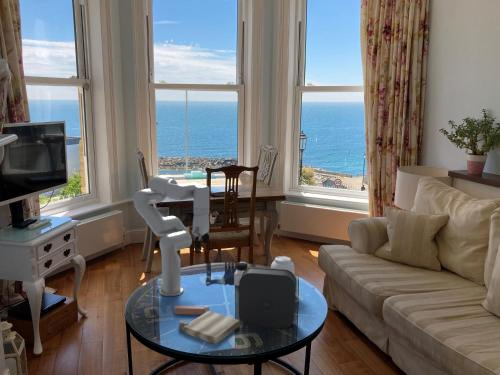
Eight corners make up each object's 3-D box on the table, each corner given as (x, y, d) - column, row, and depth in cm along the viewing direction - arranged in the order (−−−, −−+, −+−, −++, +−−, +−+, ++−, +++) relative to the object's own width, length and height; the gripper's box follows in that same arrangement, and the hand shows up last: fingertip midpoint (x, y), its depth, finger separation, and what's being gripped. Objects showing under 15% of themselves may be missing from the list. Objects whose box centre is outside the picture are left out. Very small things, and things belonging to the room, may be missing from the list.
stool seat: (177, 330, 191) (177, 323, 191) (202, 314, 207) (202, 307, 206) (215, 344, 181) (215, 336, 180) (239, 326, 196) (239, 319, 196)
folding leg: (209, 312, 208) (209, 305, 208) (209, 315, 206) (209, 308, 205) (175, 311, 209) (175, 304, 208) (174, 314, 206) (174, 307, 205)
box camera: (246, 286, 240) (247, 266, 238) (233, 285, 242) (234, 264, 239) (249, 281, 247) (249, 261, 245) (236, 280, 248) (237, 260, 246)
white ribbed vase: (298, 294, 232) (299, 258, 229) (283, 301, 223) (285, 264, 219) (279, 287, 240) (280, 252, 237) (265, 294, 231) (266, 258, 228)
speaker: (294, 321, 202) (296, 270, 197) (293, 331, 193) (295, 277, 189) (240, 317, 205) (241, 266, 201) (237, 326, 197) (238, 273, 192)
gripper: (201, 206, 218) (201, 240, 221) (186, 214, 202) (186, 250, 205) (215, 208, 216) (215, 241, 219) (201, 215, 200) (201, 251, 203)
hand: (201, 245), depth 212 cm, fingers open, 9 cm apart
